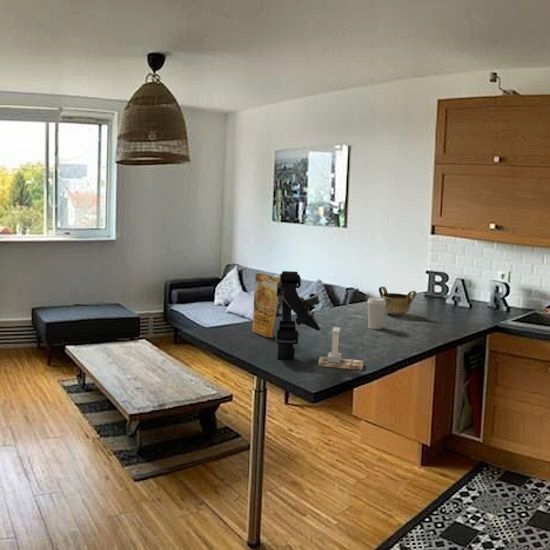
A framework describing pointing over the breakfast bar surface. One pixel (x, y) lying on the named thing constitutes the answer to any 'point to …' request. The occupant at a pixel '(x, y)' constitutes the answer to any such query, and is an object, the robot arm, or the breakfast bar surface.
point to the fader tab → (334, 347)
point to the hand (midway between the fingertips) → (319, 330)
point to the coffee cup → (375, 312)
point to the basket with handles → (396, 301)
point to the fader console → (342, 363)
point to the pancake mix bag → (265, 304)
